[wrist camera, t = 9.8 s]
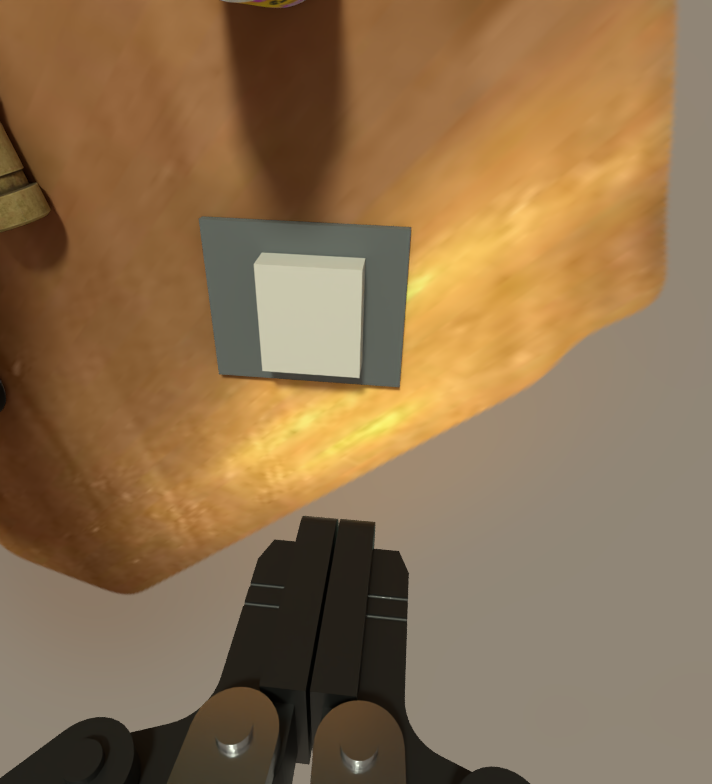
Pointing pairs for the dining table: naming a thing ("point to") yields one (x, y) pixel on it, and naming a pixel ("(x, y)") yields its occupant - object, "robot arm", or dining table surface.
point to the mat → (253, 236)
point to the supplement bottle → (268, 3)
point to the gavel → (17, 190)
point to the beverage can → (2, 396)
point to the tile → (310, 313)
